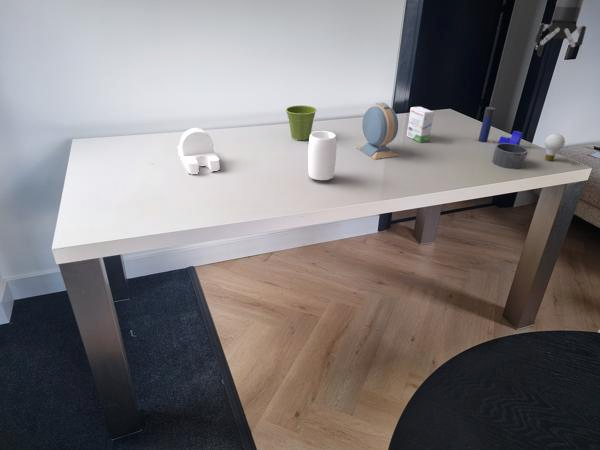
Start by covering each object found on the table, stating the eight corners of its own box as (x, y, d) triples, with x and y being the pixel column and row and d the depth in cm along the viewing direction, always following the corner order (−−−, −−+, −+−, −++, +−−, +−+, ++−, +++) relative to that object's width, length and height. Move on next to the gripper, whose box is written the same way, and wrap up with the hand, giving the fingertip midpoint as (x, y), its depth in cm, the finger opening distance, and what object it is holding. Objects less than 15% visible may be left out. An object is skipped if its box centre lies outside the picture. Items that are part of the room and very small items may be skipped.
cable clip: (506, 144, 166) (510, 129, 163) (518, 147, 163) (522, 132, 160) (492, 151, 159) (496, 136, 156) (504, 155, 156) (508, 139, 153)
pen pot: (522, 162, 150) (527, 145, 147) (523, 172, 142) (528, 155, 139) (492, 157, 154) (496, 141, 151) (491, 167, 146) (495, 150, 143)
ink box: (429, 141, 168) (435, 111, 162) (419, 142, 166) (424, 112, 160) (415, 134, 174) (420, 105, 168) (405, 136, 172) (410, 107, 166)
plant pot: (290, 132, 174) (290, 104, 168) (318, 135, 171) (320, 106, 166) (281, 141, 164) (281, 112, 159) (311, 144, 162) (312, 115, 156)
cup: (316, 171, 140) (318, 128, 132) (339, 177, 136) (342, 133, 129) (302, 179, 133) (303, 135, 126) (325, 186, 130) (328, 141, 122)
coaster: (493, 140, 170) (494, 139, 169) (493, 147, 163) (493, 146, 163) (472, 138, 172) (472, 137, 172) (471, 144, 166) (471, 143, 166)
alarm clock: (399, 157, 152) (406, 107, 143) (376, 160, 149) (382, 109, 140) (377, 144, 163) (382, 97, 155) (355, 147, 160) (359, 99, 151)
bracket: (178, 155, 149) (174, 123, 144) (207, 151, 153) (204, 120, 147) (189, 175, 134) (185, 140, 129) (220, 171, 138) (218, 137, 132)
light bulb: (548, 157, 155) (556, 130, 150) (561, 163, 150) (571, 135, 145) (535, 159, 153) (544, 132, 148) (548, 165, 148) (558, 137, 143)
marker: (488, 141, 167) (497, 108, 161) (484, 143, 166) (492, 109, 159) (480, 139, 170) (488, 106, 163) (476, 141, 168) (484, 107, 161)
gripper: (545, 5, 141) (531, 57, 149) (595, 7, 136) (577, 60, 144) (544, 4, 147) (530, 54, 155) (591, 5, 142) (575, 57, 150)
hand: (553, 57), depth 149 cm, fingers open, 8 cm apart
